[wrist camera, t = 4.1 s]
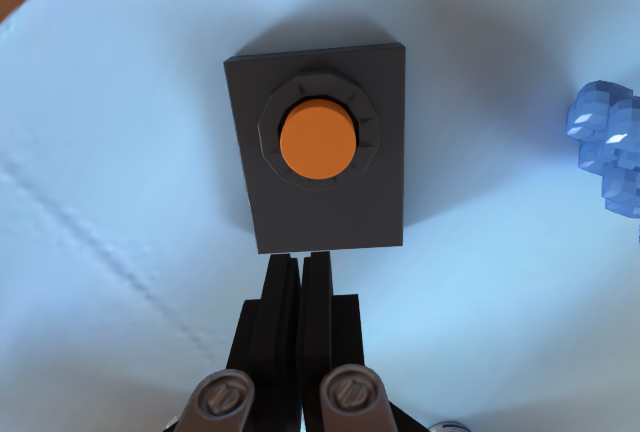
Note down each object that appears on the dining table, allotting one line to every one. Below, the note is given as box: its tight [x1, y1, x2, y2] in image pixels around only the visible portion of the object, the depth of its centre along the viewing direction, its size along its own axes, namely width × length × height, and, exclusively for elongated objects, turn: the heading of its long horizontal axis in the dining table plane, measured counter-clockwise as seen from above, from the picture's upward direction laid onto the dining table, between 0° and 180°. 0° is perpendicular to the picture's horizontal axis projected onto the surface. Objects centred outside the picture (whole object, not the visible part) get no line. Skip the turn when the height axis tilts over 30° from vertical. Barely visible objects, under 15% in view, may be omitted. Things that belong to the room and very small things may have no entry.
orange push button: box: [280, 99, 356, 179], centre depth 25 cm, size 4×4×2 cm
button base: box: [223, 43, 405, 254], centre depth 29 cm, size 14×11×4 cm
